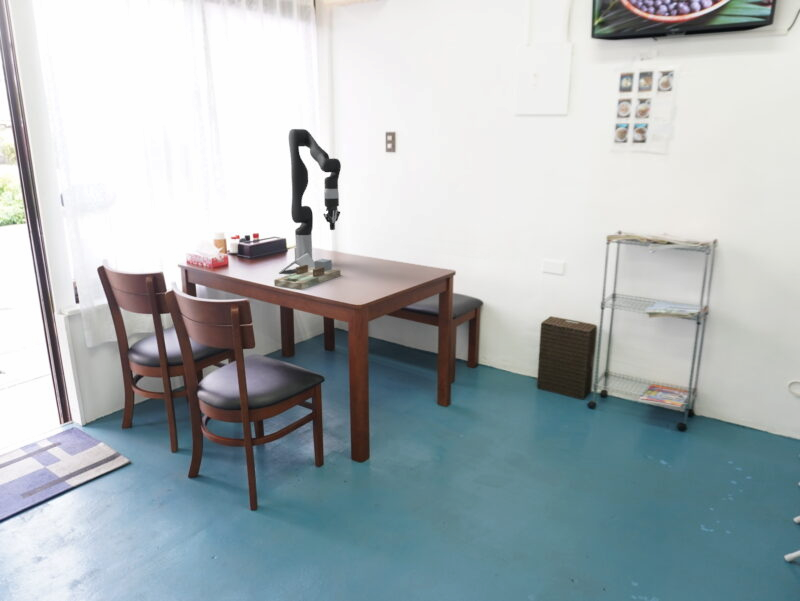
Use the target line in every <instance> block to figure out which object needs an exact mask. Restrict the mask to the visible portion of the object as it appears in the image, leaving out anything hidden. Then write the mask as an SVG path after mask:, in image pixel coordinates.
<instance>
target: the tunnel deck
mask: <svg viewBox="0 0 800 601" xmlns="http://www.w3.org/2000/svg"><path fill="white" fill-rule="evenodd" d="M341 272H342V271H341V269H338V268H332V269H330V270H327V271H324V267H320V268H316V269H315V267H313V268H310V269H308V265H303V266H299V265H298V266H297V267H295V273H291V274H287V275H284V276H281V277H278V278H274V282H273V283H274V287H275V286H276V287H281V288H289V289H296V290H303V289H306V288H309V287H312V286H314V285H318V284H319V283H323V282H326V281H329V280H330V279H335V278H337V277H339V276H342V274H341Z"/></svg>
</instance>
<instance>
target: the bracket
mask: <svg viewBox="0 0 800 601" xmlns="http://www.w3.org/2000/svg"><path fill="white" fill-rule="evenodd" d="M296 262H297V263H298V264H297V265H298V267H299V266H303V265H308V269H310V268H313V267H315V260H314V259H313V257H312V258H311V257H310V255H309V254H308V253H306V254H305V255H303V256H301V257H300V258H298V259H297V260H295V259H294V261H293V262H291V263H290V264H288V265H287V266H286V267H283V269H281V270H280V271H279V272H278V274H281V273H283V272H285V271H286V270H288V269H290V267H292V266H293V265H296Z"/></svg>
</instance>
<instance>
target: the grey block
mask: <svg viewBox="0 0 800 601" xmlns="http://www.w3.org/2000/svg"><path fill="white" fill-rule="evenodd" d="M314 262H315V269H316V268H320V267H324V271H327V270H330V269H333V268H332V267H333V265H332V259H328V258H327V259H326V258H321V259H317V260H314Z"/></svg>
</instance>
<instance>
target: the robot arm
mask: <svg viewBox="0 0 800 601" xmlns="http://www.w3.org/2000/svg"><path fill="white" fill-rule="evenodd" d="M288 144H289V153H290V155H289V156H290V165H291V166H290V169H291V172H290V173H291V176H290V177H291V195H292V196H291V209H290V210H291V218H292V221H293V222H294V223H295V224H300V225H299V227H297V228H296V229H295V233H294V236H295V247H294V261H295V260H297V259H298V258H300V257H301V256H303V255H305V254H306V253H308V254H309V255H310V257H311V258H312V259H313V240H312V238H313V237H312V236H313V235H312V231H313V223H314V218H313V216H314V215H313V214H314V213H313V210H312V208H311V207H310V206H308V205H302V204H303V202H302V201H303V196H304V194H305V192H306V190H307V187H308V185H309V170H308V168H307V166H306V164H305V162H304V161H303V160H302V158H301V157H302V156H301V154H300V148H299V147H305V148H308V149H309V153H310V154H309V155H310V156H311V158H312V159H313V160H314V161H315V162H317V164H318V166H319V168H320V170H321V171H322V172H324V173H330V175H329V176H327V177H325V178H324V194H323V195H324V196H323V197H324V199H323V200H324V207H326V209H325V212H323V216H324V219H325V220H326V222H327V223H329V230H330V231H334V230H336V222H338V220H339V217H340V215H341V211H339V210H338V207H339V206H340V197H339V177H340V174H341V173H340V172H341V169H342V168H341V167H342V163H341V161H340V160H339V158H334V157H333V158H330V156H329V154H328V153H327V151H325V150H324V149H323V148H322V147H321V146H320V145H319V144H318V143H317V141H316V139H315V138H314V137H313V135H312V134H311V133H310V132H309V131H308V130H307V129H304V128H291V129H290V130H289V133H288ZM296 264H297V265H298V263H297V262H296V263H295V265H296Z"/></svg>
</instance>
